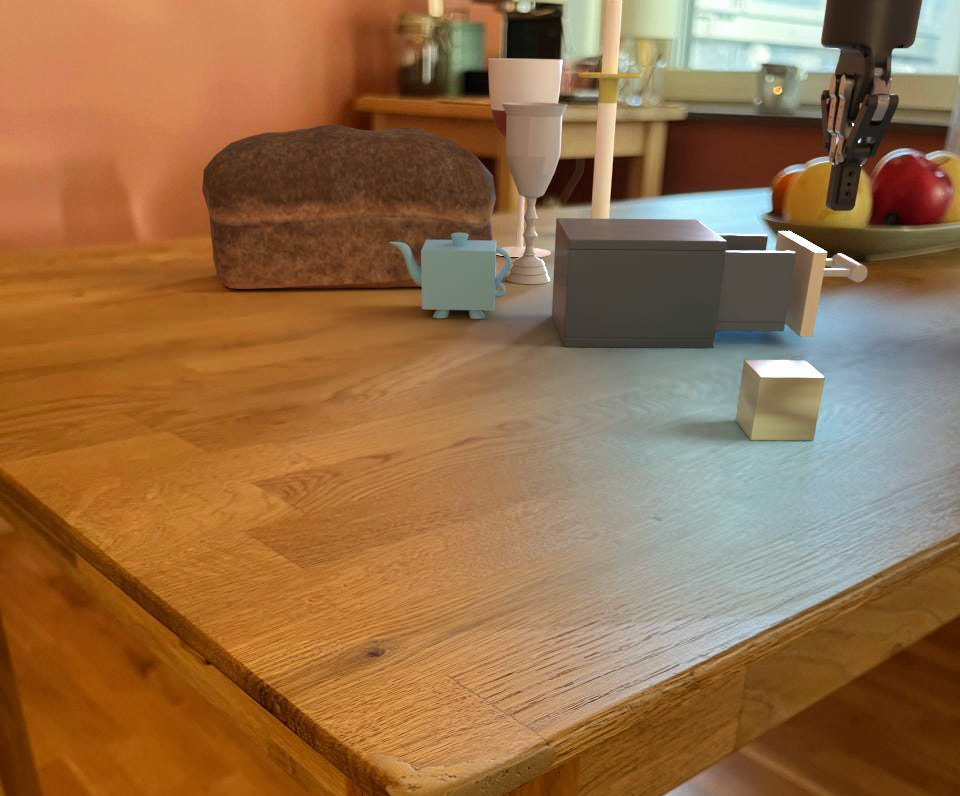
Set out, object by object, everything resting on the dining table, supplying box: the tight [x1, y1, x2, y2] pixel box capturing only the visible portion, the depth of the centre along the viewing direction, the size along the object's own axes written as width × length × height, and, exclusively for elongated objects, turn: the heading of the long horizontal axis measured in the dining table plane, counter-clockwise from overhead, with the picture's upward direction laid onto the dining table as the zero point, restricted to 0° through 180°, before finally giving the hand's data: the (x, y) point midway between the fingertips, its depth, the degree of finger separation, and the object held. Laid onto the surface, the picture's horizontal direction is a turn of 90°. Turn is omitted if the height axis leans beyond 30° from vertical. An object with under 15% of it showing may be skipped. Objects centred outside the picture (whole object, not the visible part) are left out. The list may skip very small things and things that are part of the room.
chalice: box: [502, 102, 568, 285], centre depth 113 cm, size 7×7×18 cm
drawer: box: [716, 230, 868, 338], centre depth 95 cm, size 17×11×7 cm, turn 91°
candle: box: [576, 0, 643, 219], centre depth 135 cm, size 10×10×38 cm
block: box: [735, 359, 826, 441], centre depth 71 cm, size 4×4×4 cm
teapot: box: [389, 233, 512, 320], centre depth 101 cm, size 12×6×8 cm, turn 89°
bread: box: [201, 123, 497, 290], centre depth 113 cm, size 15×32×16 cm, turn 98°
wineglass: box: [487, 57, 563, 258], centre depth 127 cm, size 9×10×22 cm
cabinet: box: [551, 217, 727, 349], centre depth 95 cm, size 14×13×9 cm
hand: (839, 209), depth 92 cm, fingers closed
